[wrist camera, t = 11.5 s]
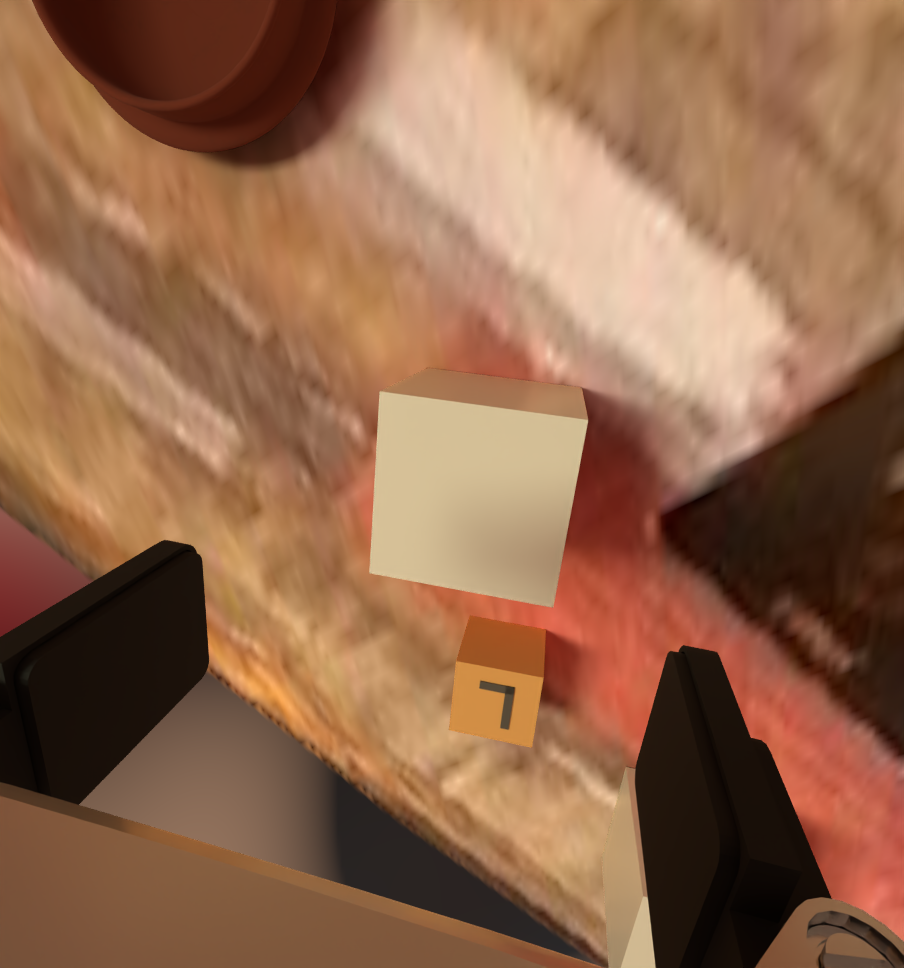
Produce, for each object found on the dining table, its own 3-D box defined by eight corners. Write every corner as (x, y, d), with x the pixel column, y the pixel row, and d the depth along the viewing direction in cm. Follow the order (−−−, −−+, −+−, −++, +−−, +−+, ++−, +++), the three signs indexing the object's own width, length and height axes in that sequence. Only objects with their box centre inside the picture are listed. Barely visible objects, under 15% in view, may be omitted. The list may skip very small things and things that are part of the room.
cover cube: (581, 387, 24) (588, 419, 18) (555, 532, 27) (553, 607, 20) (427, 367, 25) (379, 391, 19) (415, 508, 28) (369, 572, 21)
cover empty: (761, 797, 29) (818, 941, 22) (726, 889, 31) (769, 1044, 25) (625, 766, 30) (642, 896, 24) (601, 857, 32) (611, 998, 26)
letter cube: (546, 628, 28) (543, 678, 25) (535, 692, 30) (531, 749, 26) (470, 614, 29) (456, 661, 25) (463, 678, 30) (448, 732, 27)
